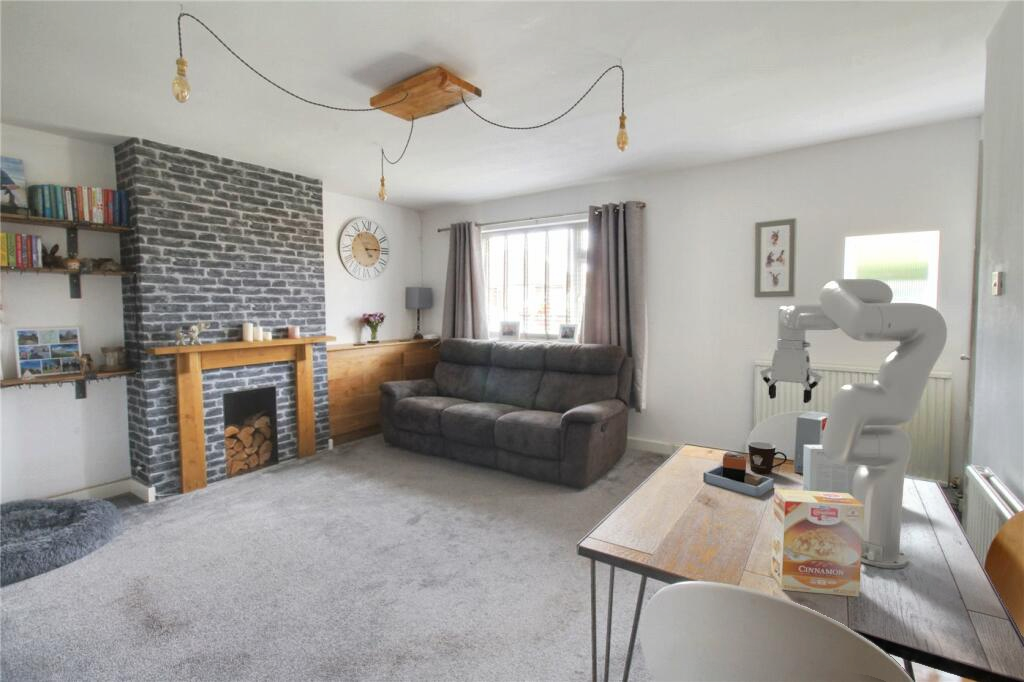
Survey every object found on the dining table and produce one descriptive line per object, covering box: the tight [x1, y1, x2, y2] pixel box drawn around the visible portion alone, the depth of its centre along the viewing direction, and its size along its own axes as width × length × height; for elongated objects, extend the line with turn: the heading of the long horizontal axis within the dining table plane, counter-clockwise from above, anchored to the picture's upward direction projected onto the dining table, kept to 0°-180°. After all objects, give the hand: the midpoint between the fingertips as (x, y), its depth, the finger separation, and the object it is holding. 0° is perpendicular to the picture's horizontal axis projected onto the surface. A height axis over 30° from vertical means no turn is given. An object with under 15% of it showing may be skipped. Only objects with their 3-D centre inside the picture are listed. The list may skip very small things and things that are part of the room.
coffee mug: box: [748, 440, 788, 475], centre depth 169 cm, size 12×9×10 cm
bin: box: [702, 464, 775, 498], centre depth 159 cm, size 12×18×4 cm, turn 40°
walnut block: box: [744, 473, 763, 487], centre depth 155 cm, size 4×4×4 cm
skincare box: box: [802, 445, 859, 496], centre depth 149 cm, size 21×6×16 cm, turn 84°
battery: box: [722, 451, 747, 483], centre depth 159 cm, size 4×7×10 cm, turn 63°
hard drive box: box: [793, 410, 829, 475], centre depth 173 cm, size 16×8×20 cm, turn 132°
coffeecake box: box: [770, 488, 864, 598], centre depth 103 cm, size 15×7×20 cm, turn 80°
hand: (789, 400), depth 151 cm, fingers open, 9 cm apart
